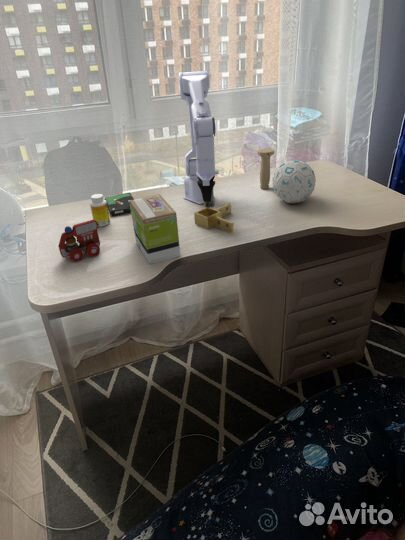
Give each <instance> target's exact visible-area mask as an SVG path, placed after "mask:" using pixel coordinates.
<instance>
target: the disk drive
mask: <svg viewBox="0 0 405 540" xmlns="http://www.w3.org/2000/svg"><path fill="white" fill-rule="evenodd" d="M104 200H106V202H107V207H108V213H109V216H111V217H117V216H118V217H119V216H123V215H128V214H131V209H130V202H129V200H135V198H134V197H133V195H132V194H131V192H126V193H119V194H115V195H112V196H105V198H104Z"/></svg>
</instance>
